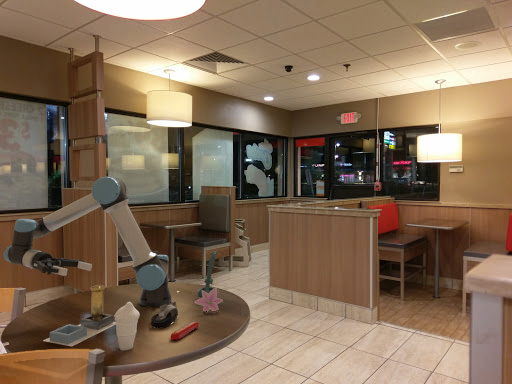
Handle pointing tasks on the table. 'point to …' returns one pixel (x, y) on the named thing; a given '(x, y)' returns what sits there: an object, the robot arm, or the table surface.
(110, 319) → the frame
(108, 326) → the mounting plate
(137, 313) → the soft serve ice cream cone
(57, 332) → the collar
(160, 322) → the caster wheel
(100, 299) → the brass peg
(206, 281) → the dark curved piece
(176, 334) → the candy bar
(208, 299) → the lily
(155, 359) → the table surface
